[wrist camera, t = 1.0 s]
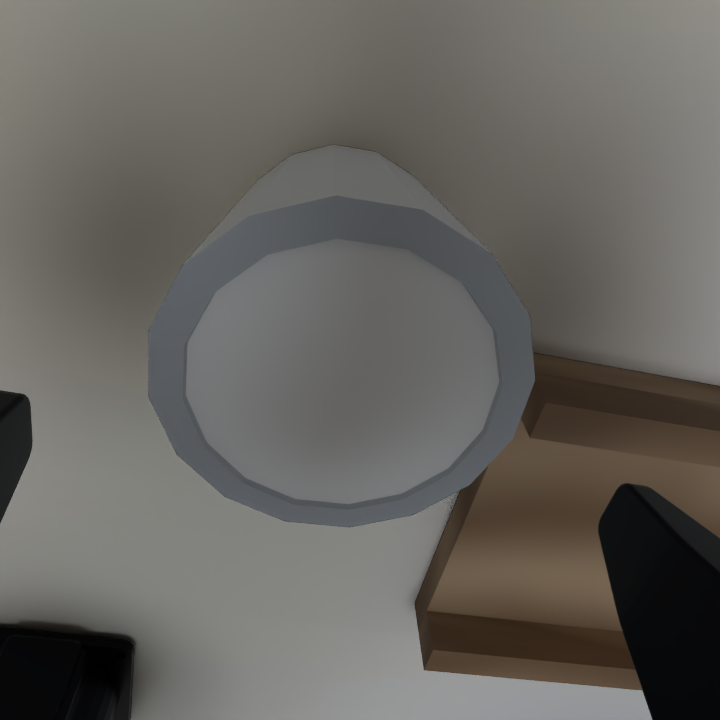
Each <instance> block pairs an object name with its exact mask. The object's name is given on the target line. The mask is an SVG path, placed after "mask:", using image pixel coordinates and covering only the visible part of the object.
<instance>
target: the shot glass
mask: <svg viewBox="0 0 720 720" xmlns="http://www.w3.org/2000/svg"><path fill="white" fill-rule="evenodd" d="M534 382H535V372H534V360H533V348H532V336H531V324H530V315H529V313H528V311H527V310H526V308H525V307H524V305H523V303H522V302H521V300H520V299H519V297H518V295H517V294H516V292H515V290H514V289H513V287H512V286H511V284H510V282H509V281H508V279H507V278H506V276H505V274H504V273H503V271H502V270H501V268H500V266H499V265H498V263H497V261H496V260H495V258H494V257H493V255H492V254H491V253H490V252H489V251H488V250H487V249H486V248H485V247H484V246H483V245H482V244H481V243H480V242H479V241H478V240H477V239H476V238H475V237H474V236H473V235H472V234H471V233H470V232H469V231H468V230H467V229H466V228H465V227H464V226H463V225H462V224H461V223H460V222H459V221H458V220H457V219H456V218H455V217H454V216H453V215H452V214H451V213H450V212H449V211H448V210H447V209H446V208H445V207H444V206H443V205H442V204H441V203H439V202H438V201H437V200H436V199H435V198H434V197H433V196H432V195H431V194H430V193H429V192H428V191H427V190H426V189H425V188H424V187H423V186H422V185H421V184H420V183H419V182H418V181H417V180H416V179H415V178H414V177H413V176H412V175H411V174H409V173H408V172H406V171H404V170H403V169H401V168H400V167H398V166H397V165H395V164H394V163H392V162H391V161H389V160H388V159H386V158H385V157H383V156H382V155H380V154H379V153H377V152H373V151H368V150H362V149H356V148H350V147H344V146H339V145H330V146H326V147H322V148H317V149H313V150H309V151H305V152H301V153H297V154H293V155H290V156H289V157H288V158H286V159H285V160H284V161H282V162H281V163H280V164H279V165H277V166H276V167H275V168H273V169H272V170H271V171H269V172H268V173H267V174H265V175H264V176H263V177H261V178H260V179H259V180H258V181H257V182H256V183H255V184H254V185H253V186H252V187H251V188H250V190H249V191H248V192H247V193H246V194H245V195H244V196H243V197H242V199H241V200H240V201H239V202H238V203H237V204H236V205H235V206H234V208H233V209H232V210H231V211H230V212H229V213H228V214H227V216H226V217H225V218H224V219H223V220H222V221H221V222H220V223H219V225H218V226H217V227H216V228H215V229H214V230H213V231H212V232H211V234H210V235H209V236H208V237H207V238H206V239H205V240H204V241H203V243H202V244H201V245H200V246H199V247H198V248H197V249H196V250H195V252H194V253H193V254H192V255H191V256H190V257H189V258H188V259H187V261H186V262H185V263H184V264H183V265H182V267H181V269H180V271H179V273H178V275H177V277H176V279H175V280H174V282H173V284H172V286H171V288H170V290H169V292H168V294H167V296H166V298H165V300H164V302H163V304H162V306H161V307H160V309H159V311H158V313H157V315H156V317H155V319H154V321H153V323H152V325H151V327H150V329H149V399H150V401H151V403H152V405H153V407H154V409H155V411H156V413H157V415H158V417H159V419H160V421H161V423H162V425H163V427H164V429H165V431H166V434H167V436H168V438H169V440H170V442H171V444H172V446H173V448H174V450H175V452H176V454H177V455H178V456H179V457H180V458H181V459H182V460H184V461H185V462H186V463H187V464H188V465H189V466H190V467H192V468H193V469H194V470H195V471H196V472H197V473H198V474H199V475H201V476H202V477H203V478H204V479H205V480H206V481H207V482H209V483H210V484H211V485H212V486H213V487H214V488H215V489H217V490H218V491H219V492H220V493H221V494H222V495H223V496H224V497H227V498H229V499H231V500H234V501H236V502H239V503H241V504H244V505H246V506H249V507H251V508H253V509H256V510H258V511H261V512H263V513H266V514H268V515H271V516H273V517H275V518H278V519H280V520H283V521H287V522H298V523H308V524H319V525H330V526H341V527H354V526H359V525H364V524H369V523H374V522H380V521H385V520H390V519H395V518H400V517H405V516H411V515H414V514H416V513H418V512H420V511H422V510H424V509H425V508H427V507H429V506H431V505H433V504H435V503H437V502H439V501H441V500H442V499H444V498H446V497H448V496H450V495H452V494H454V493H456V492H458V491H459V490H461V489H463V488H465V487H467V486H469V485H470V484H471V483H472V482H473V481H474V480H475V479H476V478H477V477H478V476H479V475H480V474H481V473H482V471H483V470H484V469H485V468H486V467H487V466H488V465H489V464H490V463H491V462H492V461H493V460H494V459H495V458H496V456H497V455H498V454H499V453H500V452H501V451H502V450H503V449H504V448H505V447H506V446H507V445H508V444H509V443H510V442H511V440H512V439H513V437H514V435H515V432H516V429H517V427H518V424H519V422H520V419H521V416H522V414H523V411H524V408H525V406H526V403H527V401H528V398H529V395H530V393H531V390H532V387H533V385H534Z"/></svg>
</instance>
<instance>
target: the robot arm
mask: <svg viewBox="0 0 720 720" xmlns="http://www.w3.org/2000/svg"><path fill="white" fill-rule="evenodd" d="M31 449H32V424H31V407H30V401H29V398H28V397H27V396H26V395H25V394H21V393H14V392H7V391H0V523H1V521H2V518H3V516H4V514H5V512H6V509H7V507H8V505H9V502H10V500H11V498H12V496H13V493H14V491H15V489H16V487H17V484H18V482H19V480H20V477H21V475H22V473H23V471H24V468H25V466H26V464H27V462H28V459H29V457H30V453H31ZM598 534H599V539H600V543H601V547H602V552H603V556H604V560H605V564H606V569H607V573H608V577H609V581H610V586H611V590H612V594H613V598H614V603H615V607H616V611H617V615H618V618H619V622H620V625H621V628H622V632H623V635H624V638H625V641H626V644H627V647H628V650H629V653H630V655H631V658H632V661H633V664H634V667H635V670H636V673H637V676H638V679H639V682H640V685H641V687H642V690H643V693H644V696H645V699H646V702H647V705H648V708H649V711H650V714H651V717H652V720H720V538H719V537H718V536H716V535H715V534H714V533H712V532H711V531H709V530H708V529H707V528H705V527H704V526H703V525H701V524H700V523H698V522H697V521H696V520H694V519H693V518H692V517H690V516H689V515H687V514H686V513H685V512H683V511H682V510H681V509H679V508H678V507H676V506H675V505H674V504H672V503H671V502H670V501H668V500H667V499H665V498H664V497H663V496H661V495H660V494H659V493H657V492H656V491H654V490H653V489H652V488H650V487H648V486H644V485H637V484H631V483H624V484H622V485H620V486H619V487H618V488H617V490H616V491H615V493H614V495H613V496H612V498H611V500H610V502H609V503H608V505H607V507H606V509H605V510H604V512H603V514H602V516H601V518H600V520H599V524H598ZM134 649H135V648H134V645H133V644H132V643H131V642H130V641H128V640H124V639H115V638H104V637H94V636H83V635H72V634H61V633H51V632H40V631H29V630H19V629H8V628H0V720H130V719H131V702H132V684H133V667H134Z"/></svg>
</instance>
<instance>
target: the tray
mask: <svg viewBox="0 0 720 720" xmlns="http://www.w3.org/2000/svg"><path fill="white" fill-rule="evenodd" d="M533 360H534V372H535V382H534V385H533V387H532V390H531V393H530V395H529V398H528V401H527V403H526V406H525V408H524V411H523V414H522V416H521V419H520V422H519V424H518V427H517V429H516V432H515V435H514V437H513V439H512V440H511V442H510V443H509V444H508V445H507V446H506V447H505V448H504V449H503V450H502V451H501V452H500V453H499V454H498V455H497V456H496V458H495V459H494V460H493V461H492V462H491V463H490V464H489V465H488V466H487V467H486V468H485V469H484V470H483V471H482V473H481V474H480V475H479V476H478V477H477V478H476V479H475V480H474V481H473V482H472V483H471V484H470V485H469V486H467V487H465V488H463V489H461V491H460V493H459V496H458V498H457V501H456V503H455V506H454V508H453V511H452V513H451V515H450V518H449V520H448V523H447V525H446V528H445V530H444V533H443V535H442V538H441V540H440V543H439V545H438V548H437V550H436V552H435V555H434V557H433V560H432V562H431V565H430V567H429V570H428V572H427V575H426V577H425V580H424V582H423V585H422V587H421V589H420V592H419V594H418V597H417V599H416V602H415V610H416V617H417V624H418V631H419V638H420V645H421V652H422V659H423V666H424V670H428V671H439V672H450V673H461V674H472V675H482V676H493V677H504V678H515V679H526V680H537V681H547V682H558V683H569V684H580V685H591V686H601V687H612V688H623V689H634V690H642V687H641V685H640V682H639V679H638V676H637V673H636V670H635V667H634V664H633V661H632V658H631V655H630V653H629V650H628V647H627V644H626V641H625V638H624V635H623V632H622V628H621V625H620V622H619V618H618V615H617V611H616V607H615V603H614V598H613V594H612V590H611V586H610V581H609V577H608V573H607V569H606V564H605V560H604V556H603V552H602V547H601V543H600V539H599V534H598V524H599V520H600V518H601V516H602V514H603V512H604V510H605V509H606V507H607V505H608V503H609V502H610V500H611V498H612V496H613V495H614V493H615V491H616V490H617V488H618V487H619V486H620V485H622V484H624V483H631V484H637V485H644V486H648V487H650V488H652V489H653V490H654V491H656V492H657V493H659V494H660V495H661V496H663V497H664V498H665V499H667V500H668V501H670V502H671V503H672V504H674V505H675V506H676V507H678V508H679V509H681V510H682V511H683V512H685V513H686V514H687V515H689V516H690V517H692V518H693V519H694V520H696V521H697V522H698V523H700V524H701V525H703V526H704V527H705V528H707V529H708V530H709V531H711V532H712V533H714V534H715V535H716V536H718V537H719V538H720V386H714V385H709V384H703V383H698V382H692V381H686V380H681V379H675V378H670V377H664V376H658V375H653V374H647V373H642V372H636V371H630V370H625V369H619V368H614V367H608V366H603V365H597V364H591V363H586V362H580V361H575V360H569V359H563V358H558V357H552V356H547V355H541V354H535V353H533Z"/></svg>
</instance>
